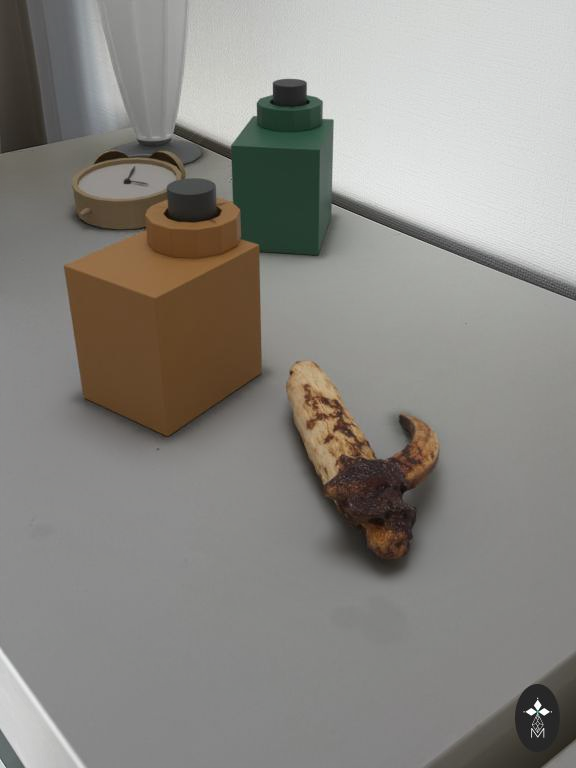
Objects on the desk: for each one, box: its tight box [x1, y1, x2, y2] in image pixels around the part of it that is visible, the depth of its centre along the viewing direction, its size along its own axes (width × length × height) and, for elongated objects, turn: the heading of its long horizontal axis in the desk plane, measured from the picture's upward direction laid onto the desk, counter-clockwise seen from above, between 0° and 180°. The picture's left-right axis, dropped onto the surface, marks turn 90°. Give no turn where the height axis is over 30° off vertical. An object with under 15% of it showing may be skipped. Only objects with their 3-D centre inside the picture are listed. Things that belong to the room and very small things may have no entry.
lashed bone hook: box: [285, 360, 441, 560], centre depth 52 cm, size 9×5×18 cm
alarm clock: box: [71, 149, 187, 230], centre depth 92 cm, size 11×5×15 cm
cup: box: [96, 0, 202, 166], centre depth 102 cm, size 12×12×22 cm
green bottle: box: [230, 94, 335, 256], centre depth 83 cm, size 11×8×12 cm
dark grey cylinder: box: [167, 177, 217, 223], centre depth 57 cm, size 3×3×2 cm
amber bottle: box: [63, 197, 263, 437], centre depth 59 cm, size 11×8×12 cm
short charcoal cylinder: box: [272, 78, 308, 107], centre depth 82 cm, size 3×3×2 cm
